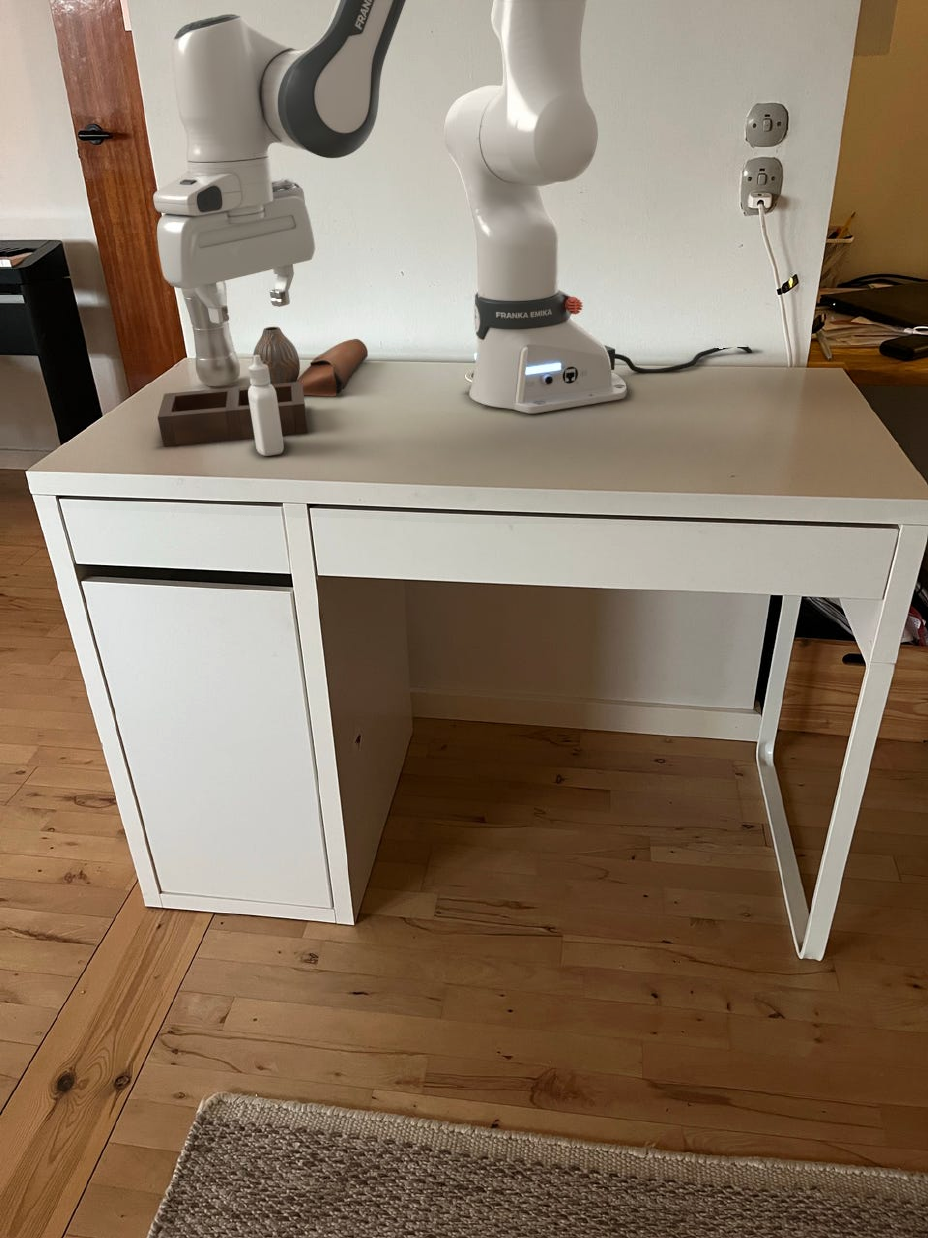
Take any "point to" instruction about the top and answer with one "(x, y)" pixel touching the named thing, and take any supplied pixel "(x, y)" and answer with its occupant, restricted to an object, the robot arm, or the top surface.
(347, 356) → the sunglasses case
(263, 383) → the eye dropper bottle
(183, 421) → the stand
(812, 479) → the top surface
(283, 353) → the vase
